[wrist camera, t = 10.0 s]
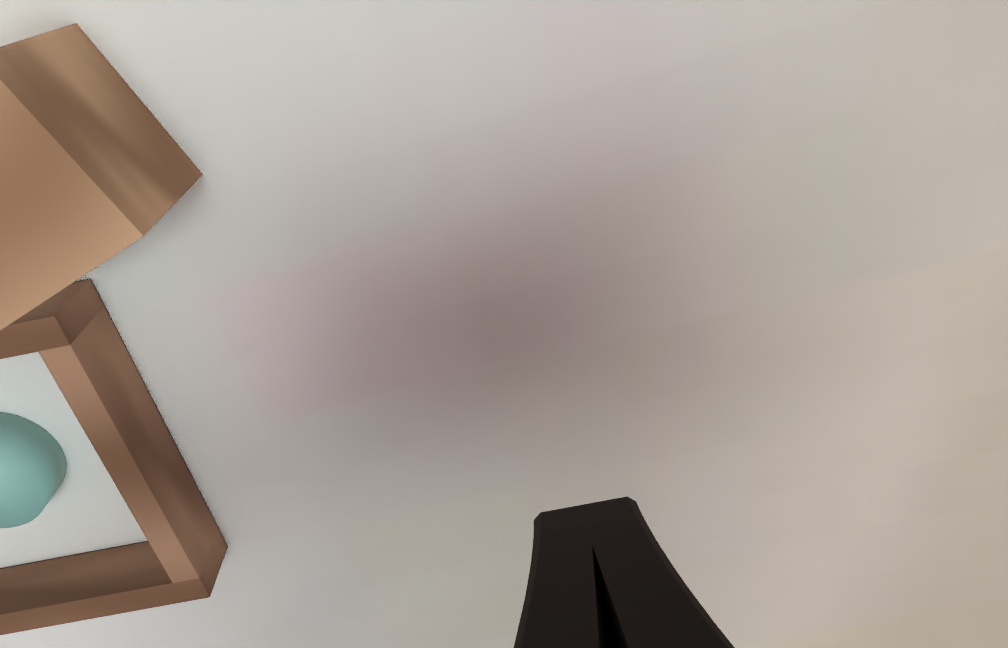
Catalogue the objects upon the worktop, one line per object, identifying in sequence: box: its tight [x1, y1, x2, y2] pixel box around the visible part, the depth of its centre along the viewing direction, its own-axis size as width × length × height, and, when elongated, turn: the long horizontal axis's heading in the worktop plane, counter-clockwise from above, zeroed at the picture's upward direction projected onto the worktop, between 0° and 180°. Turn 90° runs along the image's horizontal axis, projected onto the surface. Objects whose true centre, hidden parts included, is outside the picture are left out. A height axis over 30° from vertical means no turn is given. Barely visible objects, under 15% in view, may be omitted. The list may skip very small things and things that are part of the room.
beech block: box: [0, 24, 202, 330], centre depth 16 cm, size 4×4×4 cm
